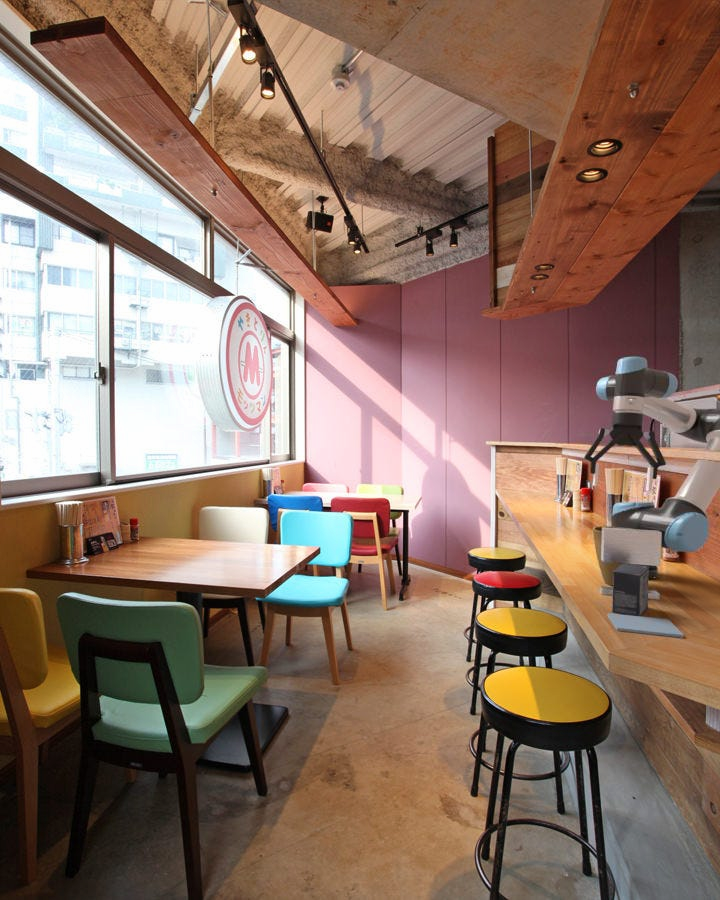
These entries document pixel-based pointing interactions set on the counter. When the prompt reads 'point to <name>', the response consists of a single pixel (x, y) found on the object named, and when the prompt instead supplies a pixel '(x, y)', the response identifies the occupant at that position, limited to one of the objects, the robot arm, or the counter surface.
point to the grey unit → (631, 550)
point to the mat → (644, 625)
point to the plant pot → (605, 567)
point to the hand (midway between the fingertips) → (621, 488)
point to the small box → (630, 590)
